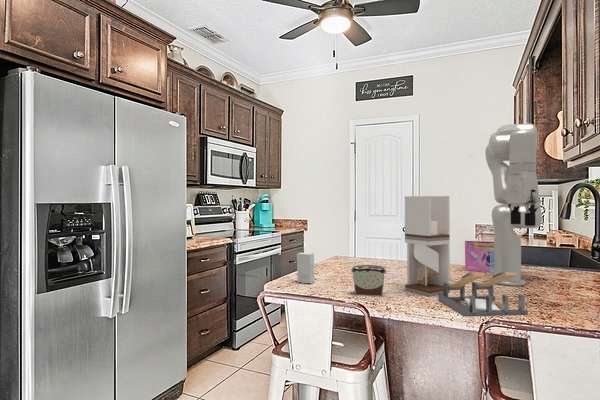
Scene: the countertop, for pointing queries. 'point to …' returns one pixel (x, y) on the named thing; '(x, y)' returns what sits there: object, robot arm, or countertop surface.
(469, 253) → the gum box
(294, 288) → the countertop surface
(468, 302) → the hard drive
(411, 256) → the white dispenser tower
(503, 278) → the strap
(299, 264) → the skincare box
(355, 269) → the food container
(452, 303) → the grey dish rack
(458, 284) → the strap
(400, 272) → the countertop surface
